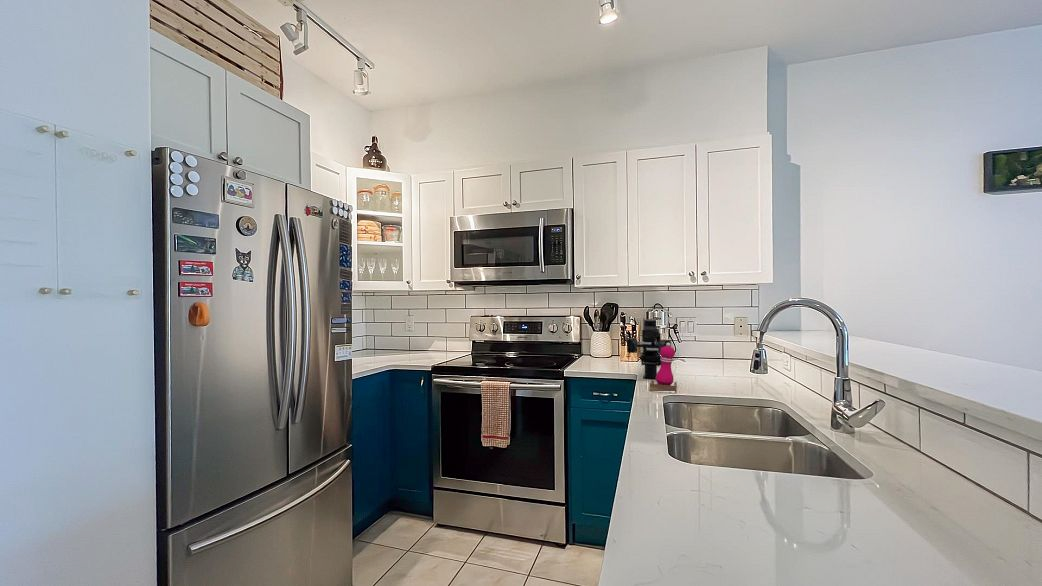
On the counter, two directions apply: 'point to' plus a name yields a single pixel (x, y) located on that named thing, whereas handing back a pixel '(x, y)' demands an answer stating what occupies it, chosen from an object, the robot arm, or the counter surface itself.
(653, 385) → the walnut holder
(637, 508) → the counter surface
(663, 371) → the pepper mill
